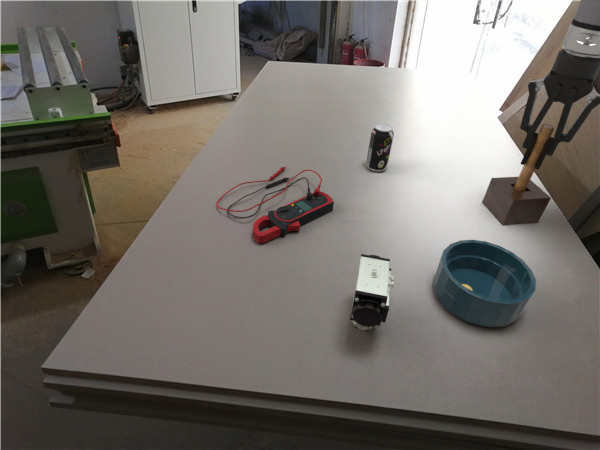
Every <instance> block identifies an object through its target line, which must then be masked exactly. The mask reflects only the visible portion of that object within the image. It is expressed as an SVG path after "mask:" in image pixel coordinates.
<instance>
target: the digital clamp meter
mask: <svg viewBox="0 0 600 450" xmlns="http://www.w3.org/2000/svg"><path fill="white" fill-rule="evenodd" d="M287 166H288V165H287V164H286V165H285V166H282V167H280V168H279V169H278V170H277V171H276V172H275V173H273V174H272V175H271V176H269V179H264V180H253V181H246V182H241V183H239V184H237V185H235V186H233V187H232V188H231V189H229V190H228V191H226V192H225V193H224V194H222V195H221V196H220V197H219V198H218V200H217V201H216V204H215V206H216V207H217V208H218V209H220V210H223V211H227V213H228V215H230V216H231V217H234V218H235V219H236V218H237V219H248V218H252V217H253V216H256V214H258V212H259V211H260V208H261V206H262V205H263V204H264V203H267V202H269V201H270V200H272V199H275V198H276V197H278V196H279V195H281V194H283V193H284V192H286V190H287V189H288V188H290V187H291V186H292V185H294V184H296V183H297V182H299V181H301V180H304V179H306V182H307V192H306V195H305V196H302V197H300V198H298V199H296V200H293V201H292V202H289V203H287V204H285V205H283V206H279V207H278V208H277V209H275V210H273V209H271V210H268V211H267V214H265V215H262V216H260V217H259V218H257V219H255V221H254V222H253V224H252V235H253V239H254V240H255V242H256V243H258V244H265V243H266V242H269V241H271V240H274V239H275V238H277V237H280V236H281V237H285V236H286V235H287V234H288V233H289V232H298V231H299V232H300V230H301V229H300V228H301V227H302V226H305V225H306V224H308V223H310V222H312V221H314V220H316V219H319V218H321V217H322V216H324V215H327V214H328V213H330V212H332V211H334V200H333V198H332V197H331V196H330V195H329V194H327V193H326V192H324V191H321V190H320V189H321V187H322V182H323V178H322V176H321V174H319V173H318V172H317V171H315V170H313V169H303V170H302V171H300V172H298V173H297V174H296V175H294V176H293V175H292V176H288V177H283V178H281V179H279V180H276V181H274V182H272V183H271V182H270V183H269V184H268V183H267V184H266V185H264V186H263V187H261V188H260V189H257V190H255V191H254V192H250V193H249V194H246V195H244V196H243V197H241V198H239V199H238V200H236V201H235V202H233V203H232V204H230V206H228V207H227V208H223V207H222V206H221V207H220V206H219V202H220V200H222V198H223V197H225V196H226V195H227V194H228V193H230V192H231V191H233V190H234V189H236V188H237V187H239V186H242V185H245V184H253V183H255V184H256V183H263V182H269V181H273V180H274V179H275V178H276V177H277V176H278V175H280V174H281V173H283V172H284V171H285V170H286V168H287ZM304 172H312V173H314V174H316V175H317V176H318V177H319V179H320V182H319V184H317V187H316V188H315V189H314V190H313V191H314V192H312V191H311V188H310V182H309V179H308V178H307V177H305V176H304V177H301V178H299V179H297V180H295V181H294V182H292V183H290V182H291V181H292V180H294V179H295V178H296V177H298V176H300V175H301V174H302V173H304ZM284 182H287V183H286V186H284V187H283V188H280V189H277V190H276V191H272V192H270V193H269V192H268V193H266V194H264V196H263V198H262V199H261V201H260V202H259V203H257V204H255V205H253V206H251V207H249V208H247V209H243V210H242V209H241V210H237V209H236V210H235V209H230V208H231V207H232V206H234V205H236V204H237V203H238V202H240V201H241V200H243V199H244V198H247V197H248V196H251V195H255V194H256V193H257V192H260V191H261V190H264V189H270V188H271V187H273V186H277V185H280V184H281V183H284ZM289 183H290V184H289ZM278 192H279V193H278ZM275 193H276V195H273V196H272V197H269V198H267V196H269V195H272V194H275ZM265 198H267V199H266V200H265ZM256 207H258V208H257V210H256V211H255V212H254V213H253V214H251V215H248V216H237V215H234V214H232V212H234V213H243V212H244V213H245V212H248V211H251V210H253V209H254V208H256ZM267 226H269V227H270V228H268V229H266V230H264V231H261V229H263V228H265V227H267Z"/></svg>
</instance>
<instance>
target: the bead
mask: <svg viewBox="0 0 600 450" xmlns="http://www.w3.org/2000/svg"><path fill="white" fill-rule="evenodd" d="M462 285H463V286H464V287H466V288H468V289H469V290H471V291H473V290H472V288H471V287H470V286H469V285H467V284H462Z"/></svg>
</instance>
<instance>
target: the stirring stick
mask: <svg viewBox="0 0 600 450" xmlns="http://www.w3.org/2000/svg"><path fill="white" fill-rule="evenodd" d="M555 128H556V127H555V126H554V125H553V124H551V123H542V124H541V126H540V128H539V131H538V132H537V133H538V135H537V138H536V140H535V142H534V144H533V147H532V149H531V151H530V153H529V155H528V158H527V160H526V162H525V164H524V165H523V166H522V169H521V170H520V172H519V175H518V176H517V177H518V179H517V181H516V184H515V186H514V188H515V189H516V190H517V191H518V192H524V191H525V189H526V187H527V185H528V183H529V181H530V180H532V177H533V174H534V173H535V171H536V169H535V168H536V166H537V164H538V161H539V159H540V157H541V155H542V153H543V151H544V149H545V147H546V145H547V142H548V140H549V139H550V137H552V135H553V133H554V131H555Z"/></svg>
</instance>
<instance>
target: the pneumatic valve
mask: <svg viewBox="0 0 600 450" xmlns="http://www.w3.org/2000/svg"><path fill="white" fill-rule="evenodd" d="M390 261H391V259H390V258H387V257H382V256H379V255H376V254H364V253H361V254H360V257H359V263H358V270H357V273H356V278H355V285H354V290H353V291H354V292H353V297H352V304H351V310H350V317H349V320H350V321H352V323H351V324H352V326H353V327H355V328H356V327H357V329H359V330H361V331H367V330H369V331H371V330H373V329H374V327H376V326H377V327H380V326H381V324H382V323H386V321H387V318H388V314H389V311H390V297H391V296H390V295H391V288H394V285H395V282H394V281H395V276H394V275H392V268H390V263H391V262H390Z"/></svg>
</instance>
